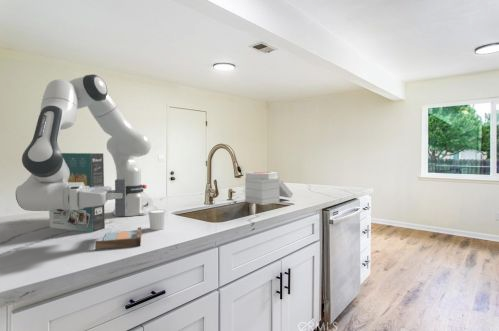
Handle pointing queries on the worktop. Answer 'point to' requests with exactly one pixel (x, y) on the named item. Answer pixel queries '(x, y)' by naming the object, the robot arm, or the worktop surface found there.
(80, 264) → the worktop surface
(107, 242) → the corner walls
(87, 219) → the cake mix box
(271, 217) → the worktop surface
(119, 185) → the bracket
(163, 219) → the white cylinder
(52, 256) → the worktop surface
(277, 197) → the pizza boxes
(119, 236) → the mat
